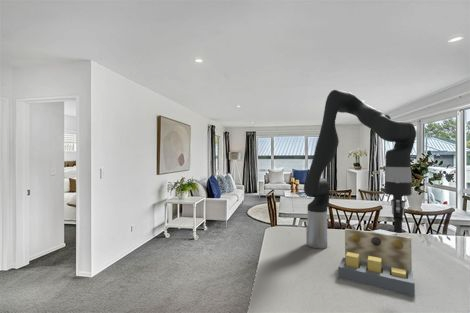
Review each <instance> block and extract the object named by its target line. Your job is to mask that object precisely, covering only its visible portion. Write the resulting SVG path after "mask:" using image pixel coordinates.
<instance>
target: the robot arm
mask: <svg viewBox="0 0 470 313" xmlns="http://www.w3.org/2000/svg"><path fill="white" fill-rule="evenodd" d="M324 105H325V106H324V111H323V117H322V122H321V126H320V131H319V134H318V138H317V142H316V146H315V150H314V154H313V157H312V161H311V164H310V167H309V170H308V173H307V175H306V178H305V180H304V183H303V184H304V185H303V192H304V194H305V195H306V196H307V197H309V198H313V199H312V201H311V202H309V203H308V204H307V225H306V229H305V232H306V233H305V234H306V235H305V236H306V240H305V241H306V243H305V244H306V246H308V247H310V248H314V249H319V250H320V249H321V250H322V249H327V248H328V244H329V243H328V207H329V206H330V205H329V204H330V185H329V182H328V180H327V179H326V178H323V177H322V175H323V172H324V171H325V169H326V168H327V167H328V165H330V163H331V162H332V160H333V159H334V158H335V156H336V153H337V150H338V147H339V143H340V142H339V136H338V132H337V128H336V119H337V114H338V113H346V114H350V115H353V116H355V117H356V118H357V119H358V121H359V122H360V123H361V124H362V125H364V126H365V127H367V128H368V129H370V130H372V131H373V132H374V133H375V134H376V135H377V136H378V137H379V138H380V139H382V140H384V141H386V142H390V143H391V142H392V143H394V145H393V148H392V149H388V150H387V151H386V152H385V168H384V193H385V194H386V195H390V196H393V199H392V198H391V199H390V206H391V214H392V217H393V218H392V220H393V232H394V233H397V234H402V232H403V221H404V218H403V216H405V207H406V200H405V199H403V197H411V196H412V193H413V191H412V190H413V189H412V182H413V181H412V168H411V165H412V164H411V162H412V161H411V154H412V151H413V147H414V145H415V141H416V136H417V130H416V127H415V125H414V124H413V123H412V122H410V121H405V120H404V121H402V120H393V119H391V117H390V115H389V114H387V113H386V112H384V111H381V110H379V109H377V108H375V107H374V106H373V107H372V106H371V105H368V104H367V103H366V102H363V100H361V99H360V98H359V97H357V96H356V95H355V94H353V93H352V92H350V91H345V90H341V89H340V90H339V89H333V90H331V91H330V92H329V94H328V95H327V97H326V100H325V103H324Z"/></svg>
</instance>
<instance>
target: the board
mask: <svg viewBox="0 0 470 313" xmlns="http://www.w3.org/2000/svg"><path fill="white" fill-rule="evenodd" d="M337 268H338V270H337V271H338V273H337V274H338V276H337V277H338V278H337V279H341V280H345V281H349V282H353V283H358V284H362V285H366V286H369V287H375V288H378V289H382V290H386V291H391V292H394V293H399V294H403V295H407V296H411V297H416V294H415V292H416V290H415V289H416V288H415V287H416V286H415V285H416V284H415V278H414V272H413V270H412V271H409V270H406V278H401V277H397V276H392V267H389V266H384V265H382V273H378V272H373V271H369V270H368V262H364V261H359V268H355V267H350V266H346V258H345V257H342V259H341V261H340V262H339V265H338V267H337Z"/></svg>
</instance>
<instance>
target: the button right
mask: <svg viewBox="0 0 470 313" xmlns="http://www.w3.org/2000/svg"><path fill="white" fill-rule="evenodd" d="M392 276H397V277H401V278H406V270H404V269H399V268H394V267H392Z"/></svg>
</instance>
